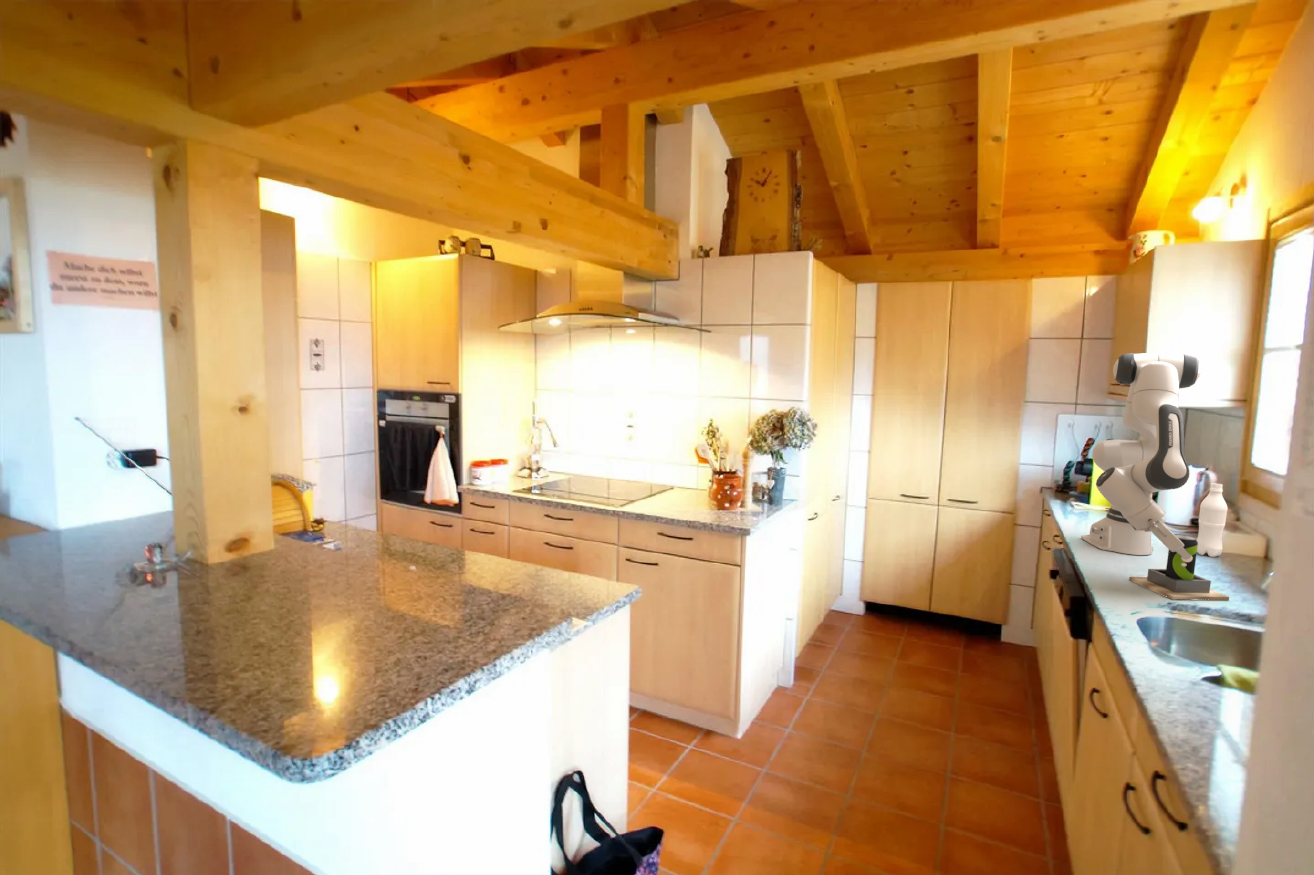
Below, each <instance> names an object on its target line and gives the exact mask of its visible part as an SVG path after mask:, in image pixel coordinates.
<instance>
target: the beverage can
mask: <svg viewBox="0 0 1314 875" xmlns="http://www.w3.org/2000/svg"><path fill="white" fill-rule="evenodd" d="M1174 534H1175V535H1176V536H1177V537H1178V538H1179V539H1180V540H1181V541H1182V543H1183V544H1184V547H1183V548H1184V549H1185V550H1186V551H1187V552H1188V553H1189V554H1190V555H1191V557H1190V558H1189V559H1186V560H1185V559H1184V558H1183V557H1182V556H1181V555H1180V554H1178V553H1177V552H1176V551H1175V552H1172V551H1170V550H1169V549H1168V552H1167V558H1166V559H1167V560H1166V568H1165V569H1166V575H1167V576H1170V577H1172V578H1174V579H1177V580H1193V578H1194V575H1195V568H1196V561H1197V554H1198V552H1197V546H1198V542H1197V538H1198V537H1195V536H1194V535H1187V534H1183V533H1174Z"/></svg>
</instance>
